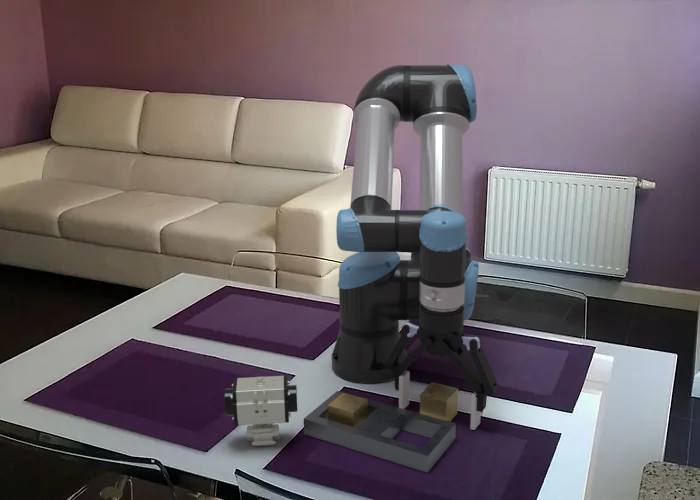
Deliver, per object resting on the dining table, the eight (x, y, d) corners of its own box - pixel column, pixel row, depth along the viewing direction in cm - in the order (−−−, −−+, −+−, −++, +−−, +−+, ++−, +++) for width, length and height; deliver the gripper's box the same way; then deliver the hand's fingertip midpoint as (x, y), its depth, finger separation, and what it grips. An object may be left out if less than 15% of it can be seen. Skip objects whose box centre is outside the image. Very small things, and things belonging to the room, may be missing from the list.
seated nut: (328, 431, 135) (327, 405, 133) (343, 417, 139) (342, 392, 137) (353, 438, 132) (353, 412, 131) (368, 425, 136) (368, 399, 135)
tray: (304, 434, 134) (303, 418, 133) (337, 405, 143) (337, 390, 142) (427, 472, 123) (427, 456, 122) (455, 439, 132) (455, 423, 131)
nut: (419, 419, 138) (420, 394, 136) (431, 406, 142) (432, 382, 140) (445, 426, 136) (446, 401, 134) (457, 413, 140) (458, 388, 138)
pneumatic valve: (229, 435, 134) (224, 372, 130) (298, 432, 134) (295, 368, 131) (227, 454, 128) (222, 388, 125) (298, 450, 129) (296, 384, 125)
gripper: (365, 298, 135) (366, 408, 141) (505, 326, 123) (499, 445, 129) (385, 284, 141) (385, 390, 148) (521, 310, 129) (514, 424, 135)
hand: (438, 416), depth 138 cm, fingers open, 13 cm apart
